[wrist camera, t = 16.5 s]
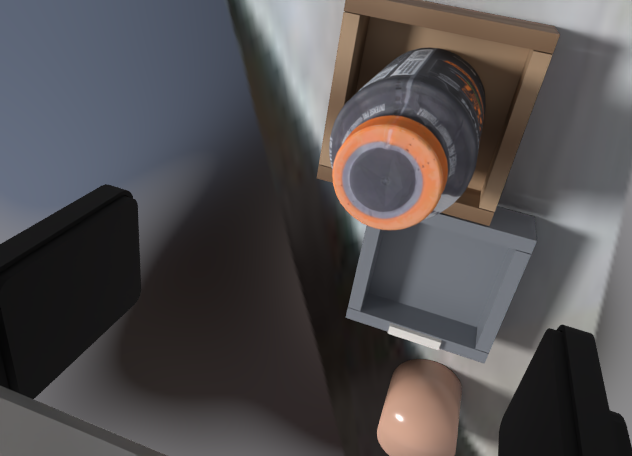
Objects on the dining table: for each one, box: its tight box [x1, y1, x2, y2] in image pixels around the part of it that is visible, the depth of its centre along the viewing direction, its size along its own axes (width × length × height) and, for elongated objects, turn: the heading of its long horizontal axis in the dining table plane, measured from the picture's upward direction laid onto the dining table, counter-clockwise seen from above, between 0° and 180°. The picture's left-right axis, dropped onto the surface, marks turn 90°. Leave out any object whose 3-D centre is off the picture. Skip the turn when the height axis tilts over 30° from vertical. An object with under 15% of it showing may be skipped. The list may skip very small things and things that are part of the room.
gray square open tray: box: [346, 207, 537, 363], centre depth 31 cm, size 9×9×3 cm
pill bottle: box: [329, 47, 486, 230], centre depth 23 cm, size 6×6×11 cm
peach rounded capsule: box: [377, 359, 462, 456], centre depth 35 cm, size 5×5×5 cm
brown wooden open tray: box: [317, 0, 560, 226], centre depth 27 cm, size 10×10×3 cm
